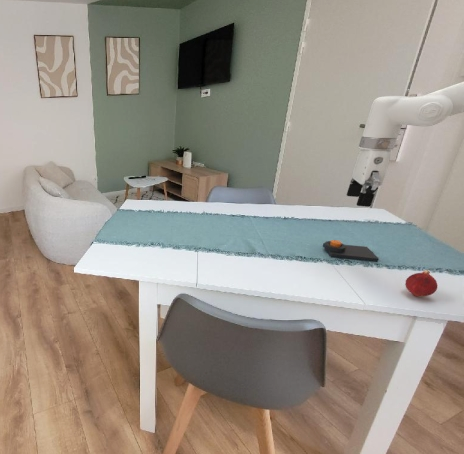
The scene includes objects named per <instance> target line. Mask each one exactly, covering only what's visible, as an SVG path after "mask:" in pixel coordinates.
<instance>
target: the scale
mask: <svg viewBox="0 0 464 454" xmlns="http://www.w3.org/2000/svg"><path fill="white" fill-rule="evenodd" d="M330 242H331V240H326V241H325V242H322V243H323V244H322V247H323V248H324V250H325V251H326V253H327V255H328V256H329V258H334V259H343V260H351V261H361V262H370V263H371V262H372V263H379V257H378V256H377V255H376V254H375V253H374V252H373V251H372V250H371V249H370V248H369V247H368V246H364V245H363V246H362V245H351V244H344V243H343V242H341V247H334V246H331V245H330Z"/></svg>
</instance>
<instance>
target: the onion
mask: <svg viewBox="0 0 464 454" xmlns="http://www.w3.org/2000/svg"><path fill="white" fill-rule="evenodd" d="M430 273H431V271H430V270H427V269H426V270H424V271H422V272H416V273H413V274H410V275H409V276H408V277H407V278H406V279H405V284H404V285H405V288H406V290H408V293H410V294H411V295H412V296H414V297H418V298H419V297H427V296H431V295H432V294H435V292H437V290H438V282H437V280H436V279H435V278H434V277H433V276H432V274H430Z"/></svg>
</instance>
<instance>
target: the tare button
mask: <svg viewBox="0 0 464 454" xmlns="http://www.w3.org/2000/svg"><path fill="white" fill-rule="evenodd" d="M330 241H331V242H330V245H331V246H334V247H341V243H342V241H341V240H336V239H332V240H330Z"/></svg>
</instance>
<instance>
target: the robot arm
mask: <svg viewBox="0 0 464 454" xmlns="http://www.w3.org/2000/svg"><path fill="white" fill-rule="evenodd" d="M461 113H464V81H461V82H459V83H456V84H452V85H450V86H447V87H444V88H441V89H438V90H436V91H433V92H430V93H427V94H423V95H419V96H406V95H386V96H385V95H384V96H379V97H376V98H375V99H374V100H373V101H372V104H371V106H370V110H369V113H368V115H367V119H366V122H365V125H364V129H363V132H362V135H361V138H360V141H359V144H358V147H357V149H360V151H359V153H358V155H357V158H356V161H355V163H354V166H353V170H352V173H351V179H350V181H349V182H350V183H349V186H348V189H347V192H346V197H355V198H357V201H356V206H357V207H366V208H370V207H371V206H372V203H373V201H374V198H375V195H376V193H377V191H378V189H379V187H380V186H382V185H383V183H384V181H385V178H386V175H387V171H388V167H389V165H390V164H389V163H390V159H391V155H392V151H393V150H395V149H394V148H395V146H396V143H397V140H398V138H399V134H400V132H401V130H402V126H403V125H406V126H413V127H421V128H422V127H432V126H435V125H438V124H440V123H442V122H444V121H445V120H446V119H447V118H448V117H451V116H456V115H458V114H461Z"/></svg>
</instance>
